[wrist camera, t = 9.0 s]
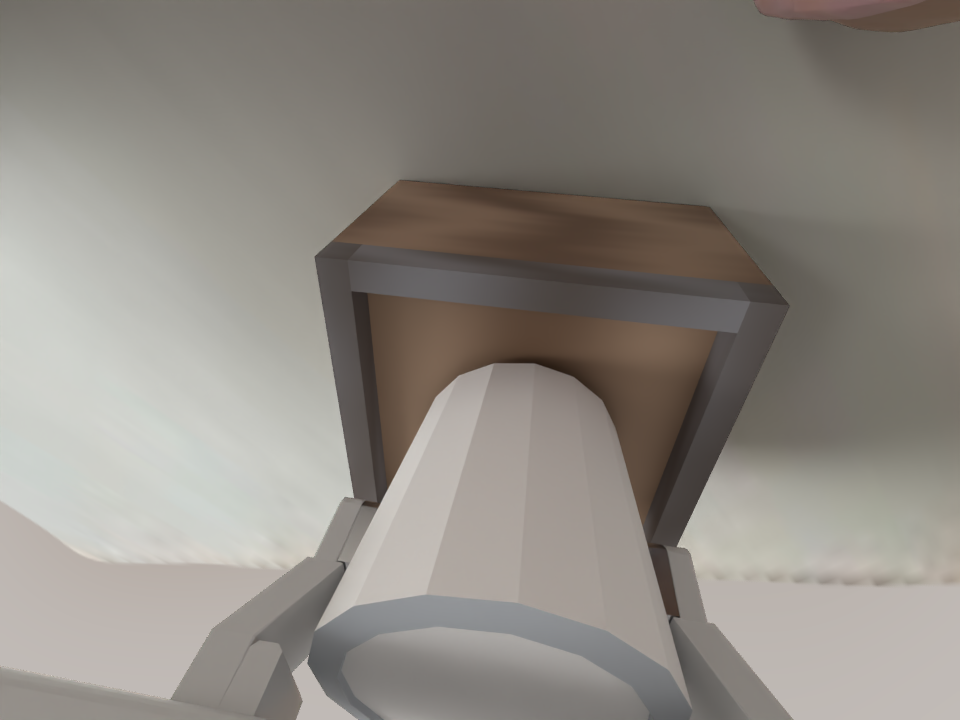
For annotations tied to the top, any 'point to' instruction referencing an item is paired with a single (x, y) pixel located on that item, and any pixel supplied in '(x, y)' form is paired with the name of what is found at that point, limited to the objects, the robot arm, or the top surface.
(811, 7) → the face sculpture
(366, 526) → the robot arm
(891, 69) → the top surface
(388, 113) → the top surface
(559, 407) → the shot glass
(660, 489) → the wooden box
